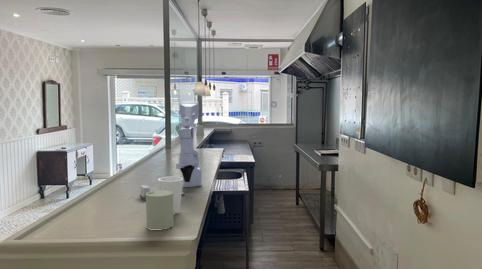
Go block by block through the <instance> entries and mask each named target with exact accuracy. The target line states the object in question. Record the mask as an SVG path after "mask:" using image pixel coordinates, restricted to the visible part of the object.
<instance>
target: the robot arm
mask: <svg viewBox="0 0 482 269" xmlns="http://www.w3.org/2000/svg"><path fill="white" fill-rule="evenodd" d="M199 108H200V104H199V101H197V100H196V101H180V102H179V113H180V114H179V115H180V119H181V125H180V126H181V127H180V129H179V131H178V134H179V143H180V153H179V158H178V163H177V164H176V163H175V164H176V165H175V170H176V169H178V170H180V172H181V174H182V176H181V177H182V178H183V187H182V188H192V187H201V186H203V184H202V170H201V168H200V158H199V157H200V156H199V152H198V151H197V150H195V149H194V141H195V140H194V138H195V130H194V128H195V121H196V120H197V119H199V112H200V109H199Z"/></svg>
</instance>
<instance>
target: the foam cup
mask: <svg viewBox="0 0 482 269" xmlns="http://www.w3.org/2000/svg"><path fill="white" fill-rule="evenodd" d="M157 186H158V190H169V191H172V192H173V215H176V214H175V213H177V214H179V213H180V211H181V202H182V196H181V195H182V192H183V188H184V187H183V178H182V176H181V177H180V176H164V177H159V178H158V179H157Z"/></svg>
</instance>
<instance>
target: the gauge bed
mask: <svg viewBox="0 0 482 269" xmlns="http://www.w3.org/2000/svg"><path fill="white" fill-rule="evenodd" d="M147 192H150V187H149V186H148V185H147V184H143V185H140V193H139V196H140V197H141V198H142V199H143V200H144V201H145V202H146V193H147ZM185 196H186V193H185V192H183V191H182V195H181V197H185Z"/></svg>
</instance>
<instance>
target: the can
mask: <svg viewBox="0 0 482 269" xmlns="http://www.w3.org/2000/svg"><path fill="white" fill-rule="evenodd" d="M149 191H150V190H149ZM145 204H146V205H145V206H146V207H145V210H146V212H145V213H146V227H147V228H150V229H165V228H170V227H172V226H173V227H174V226H175V223H174V214H173V192H172V191H169V190H159V189H156V190H151V191H150V192H147V193H146V201H145ZM146 227H145V228H146ZM173 227H172V228H173ZM147 228H146V229H147Z"/></svg>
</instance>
